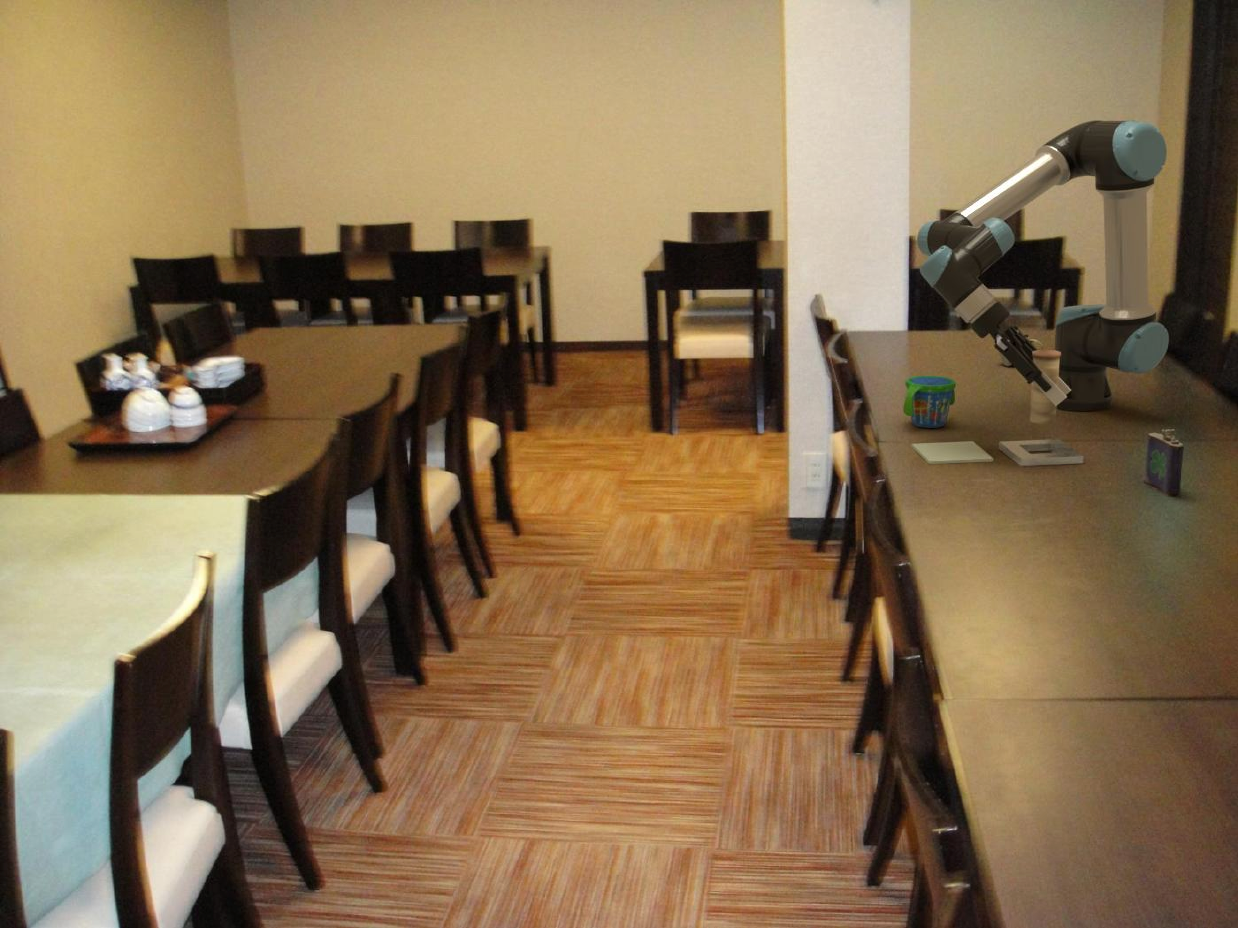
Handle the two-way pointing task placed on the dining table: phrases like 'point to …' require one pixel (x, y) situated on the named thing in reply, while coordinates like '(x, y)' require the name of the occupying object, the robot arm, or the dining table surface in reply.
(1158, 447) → the flask
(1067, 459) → the socket
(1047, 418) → the plug
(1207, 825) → the dining table surface
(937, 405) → the snack cup
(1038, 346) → the ceramic sculpture
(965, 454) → the mat
